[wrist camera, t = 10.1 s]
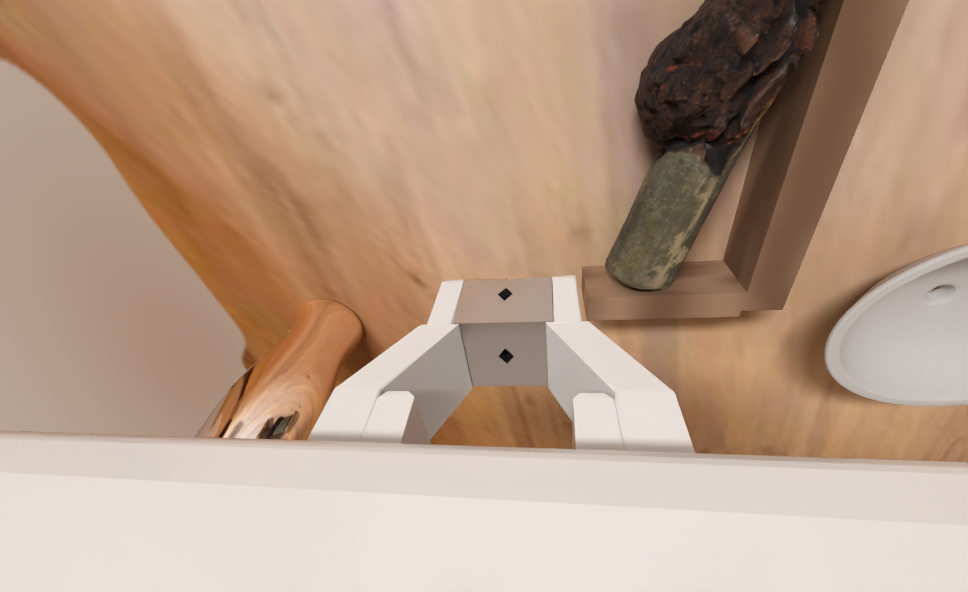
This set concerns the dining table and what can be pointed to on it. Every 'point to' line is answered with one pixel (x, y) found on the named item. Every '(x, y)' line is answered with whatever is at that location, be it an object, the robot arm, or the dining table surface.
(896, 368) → the dish
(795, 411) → the dining table surface
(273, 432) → the beer glass
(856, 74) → the walnut cradle
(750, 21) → the metal pipe
